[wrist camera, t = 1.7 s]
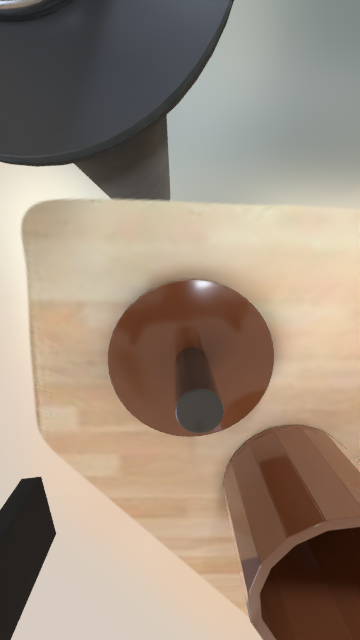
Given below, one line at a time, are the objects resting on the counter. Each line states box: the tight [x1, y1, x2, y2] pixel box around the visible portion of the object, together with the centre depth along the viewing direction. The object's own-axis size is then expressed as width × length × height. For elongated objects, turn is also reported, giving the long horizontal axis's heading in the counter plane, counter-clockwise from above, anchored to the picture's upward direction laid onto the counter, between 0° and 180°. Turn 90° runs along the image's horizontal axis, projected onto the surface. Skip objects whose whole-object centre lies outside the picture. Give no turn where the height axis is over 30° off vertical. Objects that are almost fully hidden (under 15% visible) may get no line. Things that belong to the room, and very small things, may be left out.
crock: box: [224, 425, 360, 640], centre depth 23 cm, size 13×13×10 cm
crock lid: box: [108, 279, 274, 437], centre depth 20 cm, size 14×14×9 cm
